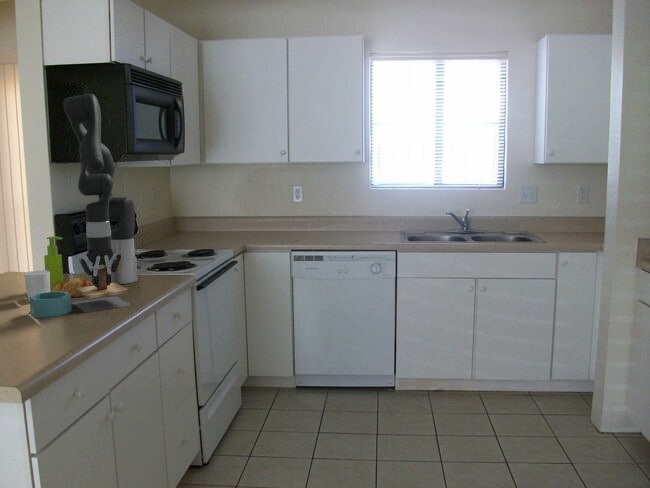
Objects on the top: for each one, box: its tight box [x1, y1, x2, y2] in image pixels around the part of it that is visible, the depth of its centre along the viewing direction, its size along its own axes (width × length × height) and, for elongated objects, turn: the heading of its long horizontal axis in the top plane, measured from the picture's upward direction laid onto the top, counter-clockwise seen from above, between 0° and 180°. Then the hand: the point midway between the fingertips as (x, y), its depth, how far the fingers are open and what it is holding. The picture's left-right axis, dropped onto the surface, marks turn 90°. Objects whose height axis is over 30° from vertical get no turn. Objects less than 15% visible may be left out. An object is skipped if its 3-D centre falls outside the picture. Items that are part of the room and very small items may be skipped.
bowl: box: [29, 291, 73, 320], centre depth 193 cm, size 11×11×6 cm
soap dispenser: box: [43, 236, 64, 287], centre depth 224 cm, size 6×7×20 cm
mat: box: [71, 295, 132, 313], centre depth 204 cm, size 15×15×1 cm
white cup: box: [24, 269, 50, 302], centre depth 209 cm, size 8×8×10 cm
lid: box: [76, 268, 130, 300], centre depth 203 cm, size 13×13×8 cm
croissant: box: [50, 277, 94, 298], centre depth 217 cm, size 21×10×8 cm, turn 92°
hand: (102, 285), depth 203 cm, fingers closed on lid, 3 cm apart
